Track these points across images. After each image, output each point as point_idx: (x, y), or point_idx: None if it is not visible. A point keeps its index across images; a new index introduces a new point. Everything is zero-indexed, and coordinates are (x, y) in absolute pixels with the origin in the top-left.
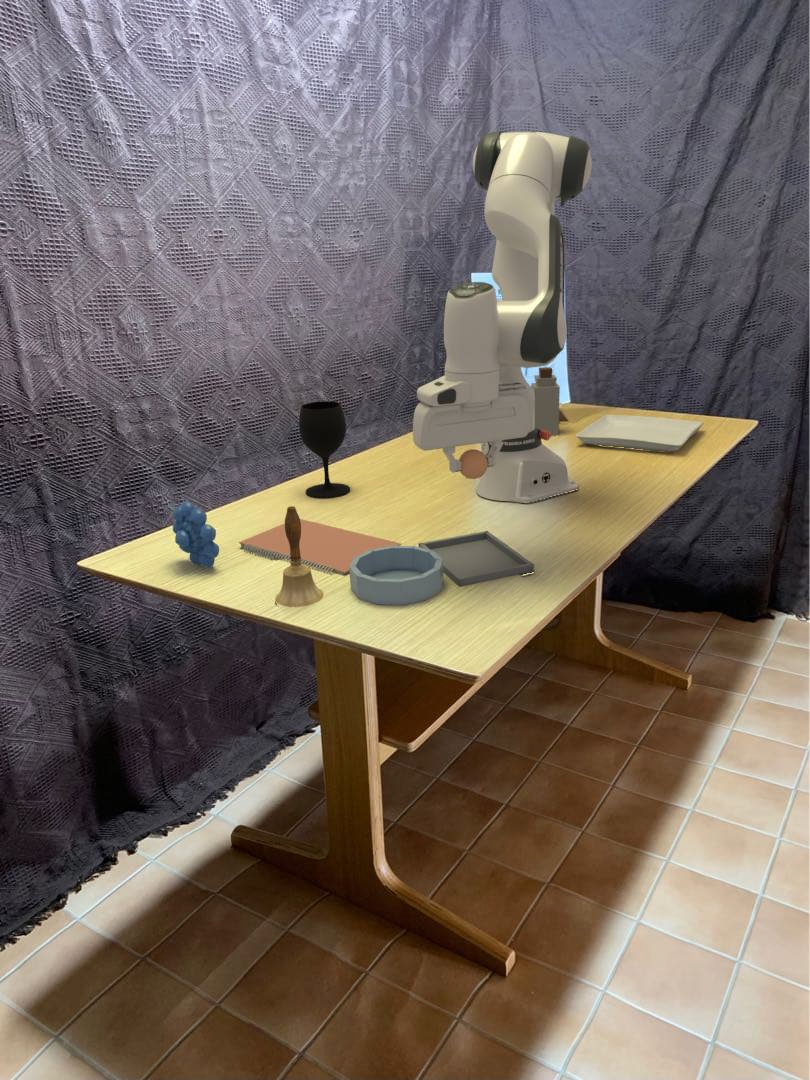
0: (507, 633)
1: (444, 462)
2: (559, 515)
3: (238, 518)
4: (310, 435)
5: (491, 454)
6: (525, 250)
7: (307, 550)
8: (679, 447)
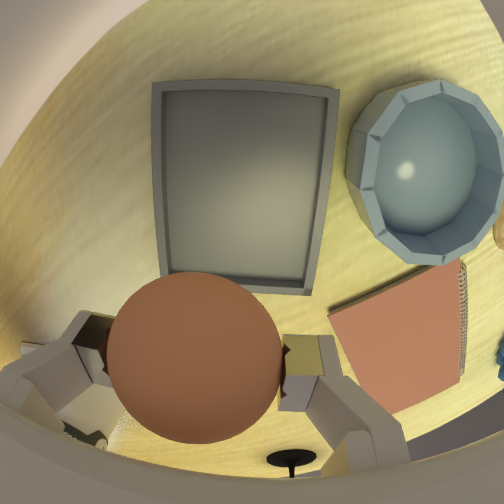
0: None
1: (145, 454)
2: (44, 296)
3: (403, 431)
4: None
5: (73, 366)
6: None
7: (438, 343)
8: None
